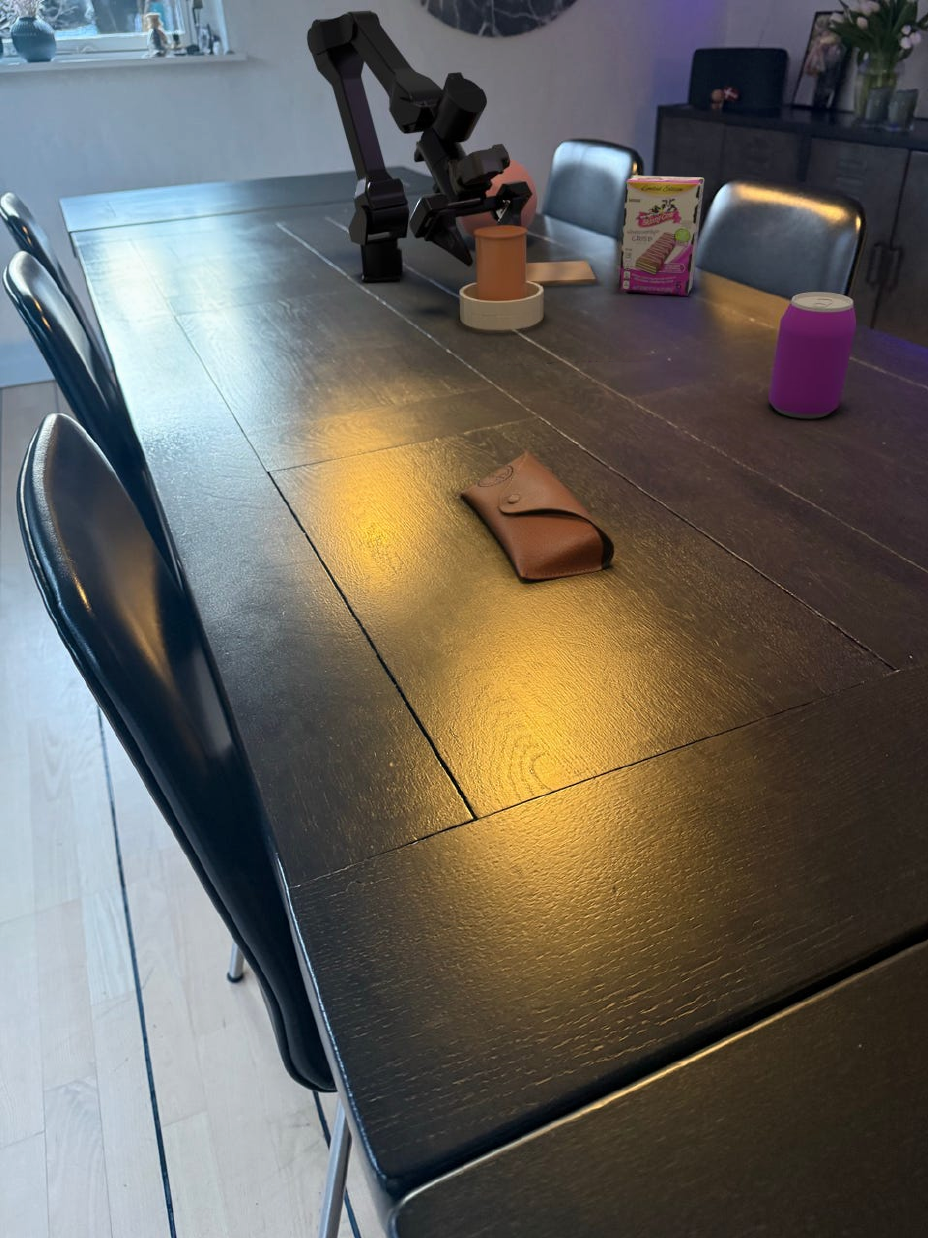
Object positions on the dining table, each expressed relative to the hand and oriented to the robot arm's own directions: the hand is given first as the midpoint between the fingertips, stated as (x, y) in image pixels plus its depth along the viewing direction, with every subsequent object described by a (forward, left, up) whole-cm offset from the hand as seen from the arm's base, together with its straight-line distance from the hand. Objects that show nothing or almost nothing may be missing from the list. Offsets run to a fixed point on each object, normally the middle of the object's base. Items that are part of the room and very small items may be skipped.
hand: (497, 258), depth 129 cm
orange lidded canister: (+1, -1, -8) cm, 8 cm away
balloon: (+2, +46, -9) cm, 47 cm away
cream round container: (+1, -1, -9) cm, 9 cm away
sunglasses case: (+1, -64, -9) cm, 64 cm away
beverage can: (+34, -38, -9) cm, 51 cm away
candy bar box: (+26, +12, -9) cm, 30 cm away
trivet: (+11, +23, -9) cm, 27 cm away
